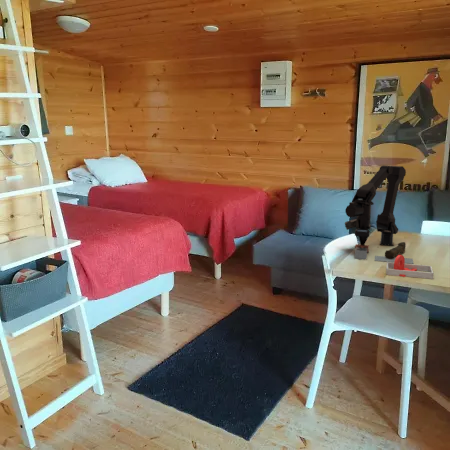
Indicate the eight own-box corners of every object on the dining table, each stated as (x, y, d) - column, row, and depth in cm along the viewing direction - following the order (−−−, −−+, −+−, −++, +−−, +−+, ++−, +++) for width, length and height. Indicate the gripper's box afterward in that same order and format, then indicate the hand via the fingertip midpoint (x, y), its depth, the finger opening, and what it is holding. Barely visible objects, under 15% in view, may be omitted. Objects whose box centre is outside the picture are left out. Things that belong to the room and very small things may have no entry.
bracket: (404, 278, 174) (405, 258, 173) (393, 275, 178) (394, 256, 176) (417, 271, 182) (419, 252, 181) (406, 269, 186) (408, 250, 184)
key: (355, 250, 211) (355, 244, 210) (368, 251, 209) (368, 245, 208) (354, 254, 205) (354, 247, 204) (367, 255, 203) (368, 248, 202)
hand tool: (392, 259, 196) (393, 249, 195) (384, 258, 199) (385, 248, 198) (410, 252, 210) (411, 242, 209) (402, 250, 212) (402, 241, 211)
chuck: (355, 255, 204) (355, 247, 203) (366, 256, 203) (367, 248, 202) (354, 258, 200) (355, 250, 199) (366, 259, 198) (366, 250, 197)
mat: (374, 256, 203) (374, 255, 203) (412, 259, 198) (412, 258, 198) (374, 260, 196) (374, 260, 196) (413, 264, 191) (413, 263, 191)
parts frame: (386, 267, 186) (386, 262, 186) (430, 271, 181) (431, 265, 180) (386, 274, 177) (386, 269, 177) (433, 278, 172) (433, 273, 171)
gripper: (348, 210, 220) (346, 241, 223) (344, 217, 203) (342, 250, 206) (371, 211, 216) (369, 242, 220) (370, 218, 199) (368, 252, 202)
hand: (362, 246), depth 212 cm, fingers closed
